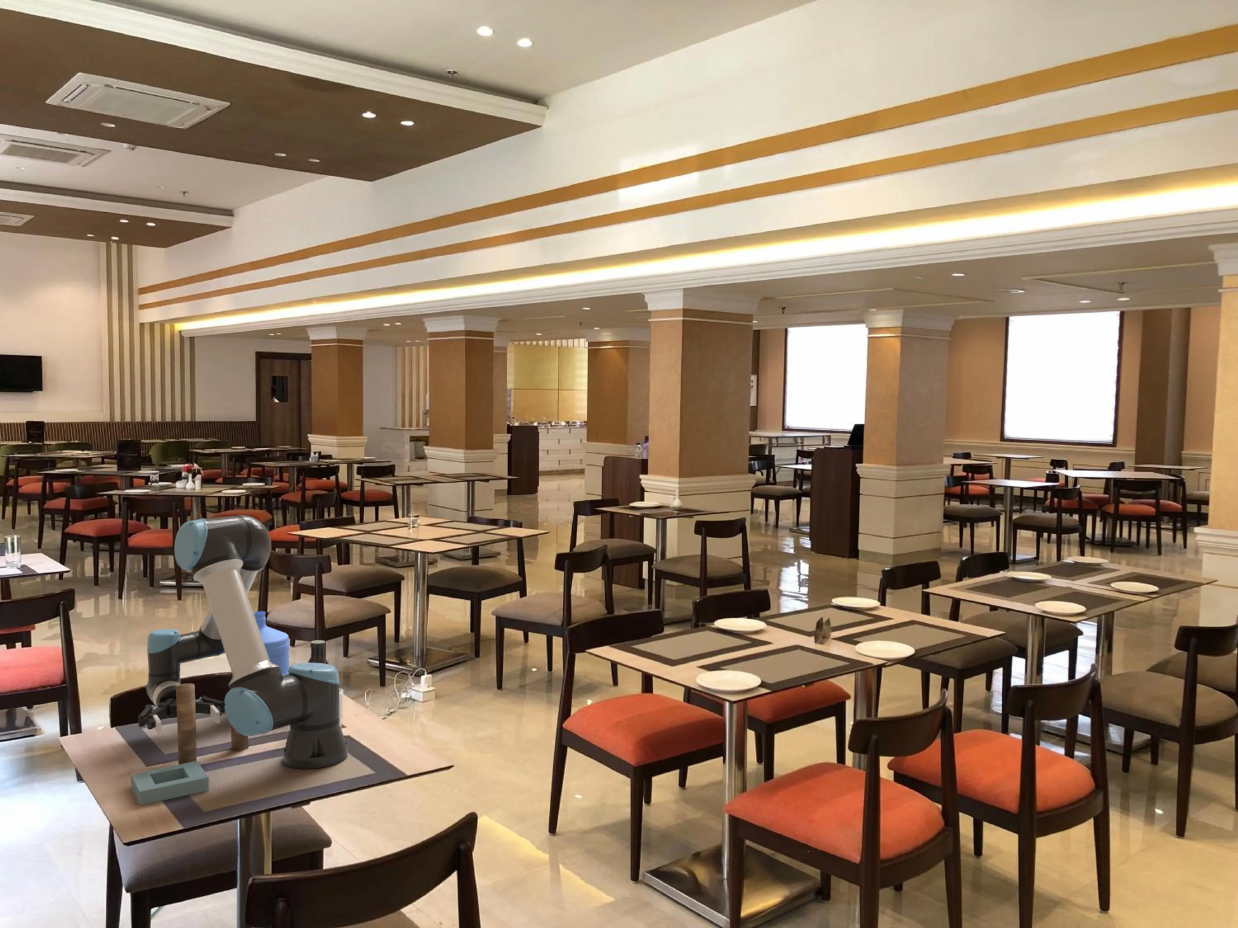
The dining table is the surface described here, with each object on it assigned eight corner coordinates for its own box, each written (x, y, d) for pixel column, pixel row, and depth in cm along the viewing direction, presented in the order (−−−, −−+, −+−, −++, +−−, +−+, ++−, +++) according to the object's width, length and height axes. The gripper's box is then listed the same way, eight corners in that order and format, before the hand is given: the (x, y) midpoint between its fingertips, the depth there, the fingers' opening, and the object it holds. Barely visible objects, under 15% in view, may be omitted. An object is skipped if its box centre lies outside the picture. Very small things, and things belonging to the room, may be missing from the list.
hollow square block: (131, 786, 217) (130, 773, 216) (197, 773, 225) (197, 760, 224) (140, 805, 207) (139, 791, 207) (208, 790, 215) (208, 777, 215)
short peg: (251, 746, 242) (251, 711, 241) (239, 751, 238) (238, 716, 238) (240, 744, 244) (239, 709, 243) (227, 749, 240) (226, 714, 240)
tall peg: (200, 766, 229) (198, 684, 228) (186, 772, 225) (184, 688, 224) (188, 763, 231) (186, 682, 229) (174, 769, 227) (172, 686, 226)
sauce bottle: (304, 715, 266) (303, 645, 265) (305, 708, 272) (304, 639, 271) (329, 713, 268) (328, 643, 267) (329, 706, 274) (328, 638, 273)
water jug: (279, 697, 282) (277, 604, 280) (299, 710, 270) (297, 613, 268) (224, 708, 272) (222, 611, 271) (242, 722, 260) (240, 621, 258)
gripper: (222, 705, 249) (243, 728, 231) (118, 723, 235) (132, 749, 217) (222, 677, 249) (243, 697, 231) (117, 693, 235) (131, 716, 217)
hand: (189, 722), depth 224 cm, fingers open, 12 cm apart
